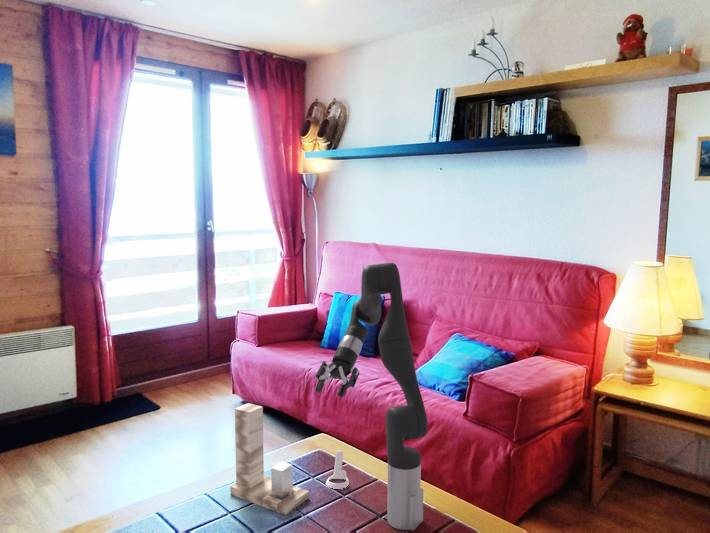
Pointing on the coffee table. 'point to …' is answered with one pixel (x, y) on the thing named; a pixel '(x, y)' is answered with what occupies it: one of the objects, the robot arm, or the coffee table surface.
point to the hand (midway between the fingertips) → (328, 394)
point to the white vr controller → (338, 473)
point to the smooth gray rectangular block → (282, 480)
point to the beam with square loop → (257, 464)
